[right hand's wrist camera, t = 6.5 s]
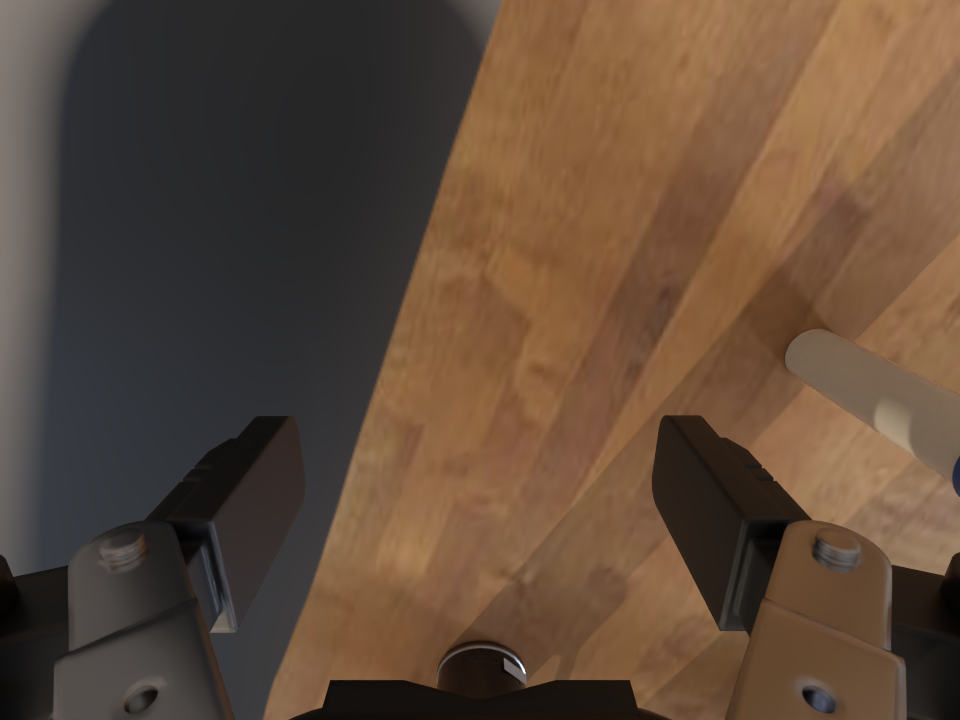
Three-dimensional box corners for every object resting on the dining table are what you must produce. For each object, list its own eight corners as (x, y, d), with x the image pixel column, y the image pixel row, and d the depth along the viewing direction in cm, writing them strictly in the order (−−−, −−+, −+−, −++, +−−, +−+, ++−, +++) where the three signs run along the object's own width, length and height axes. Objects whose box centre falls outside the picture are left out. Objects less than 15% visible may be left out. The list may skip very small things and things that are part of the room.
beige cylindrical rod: (774, 368, 42) (962, 500, 26) (803, 320, 41) (1023, 429, 24) (819, 385, 43) (1031, 525, 26) (850, 339, 41) (1095, 456, 25)
